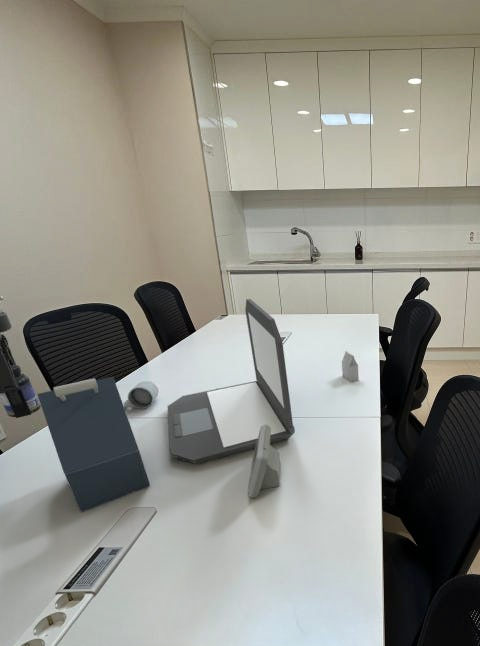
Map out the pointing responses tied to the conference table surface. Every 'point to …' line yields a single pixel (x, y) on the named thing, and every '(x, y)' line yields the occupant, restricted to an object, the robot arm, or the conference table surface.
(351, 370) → the grey house-shaped block
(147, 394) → the ceramic mug
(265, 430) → the digital clock
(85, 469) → the dark blue box
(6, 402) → the pill bottle
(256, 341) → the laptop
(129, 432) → the lid
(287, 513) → the conference table surface
